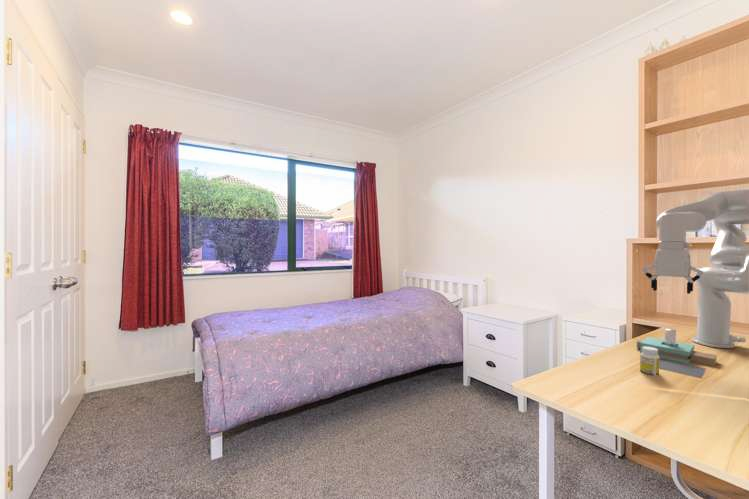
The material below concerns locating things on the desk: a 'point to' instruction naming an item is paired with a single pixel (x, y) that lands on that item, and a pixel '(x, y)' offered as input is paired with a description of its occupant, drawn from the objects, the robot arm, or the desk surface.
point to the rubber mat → (681, 368)
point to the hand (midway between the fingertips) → (671, 291)
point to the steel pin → (670, 337)
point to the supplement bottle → (649, 361)
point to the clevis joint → (677, 351)
